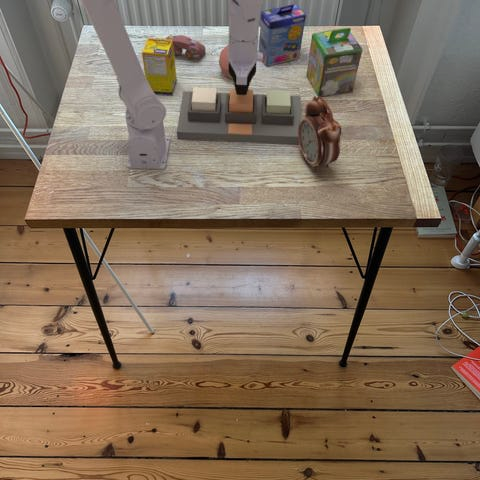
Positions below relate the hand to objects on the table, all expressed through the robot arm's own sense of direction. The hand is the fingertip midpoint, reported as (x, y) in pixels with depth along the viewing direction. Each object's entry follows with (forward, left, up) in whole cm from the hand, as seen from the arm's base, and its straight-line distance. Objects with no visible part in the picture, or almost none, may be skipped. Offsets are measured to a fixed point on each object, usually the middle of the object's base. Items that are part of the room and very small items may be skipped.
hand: (241, 93), depth 108 cm
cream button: (0, +8, -4) cm, 9 cm away
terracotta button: (0, 0, -4) cm, 4 cm away
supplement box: (+11, +19, -8) cm, 23 cm away
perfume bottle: (+17, +2, -8) cm, 19 cm away
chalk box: (+15, -21, -8) cm, 27 cm away
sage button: (0, -8, -4) cm, 9 cm away
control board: (0, 0, -7) cm, 7 cm away
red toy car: (+25, +15, -8) cm, 30 cm away
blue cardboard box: (+25, -9, -8) cm, 28 cm away
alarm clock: (-12, -16, -8) cm, 21 cm away
